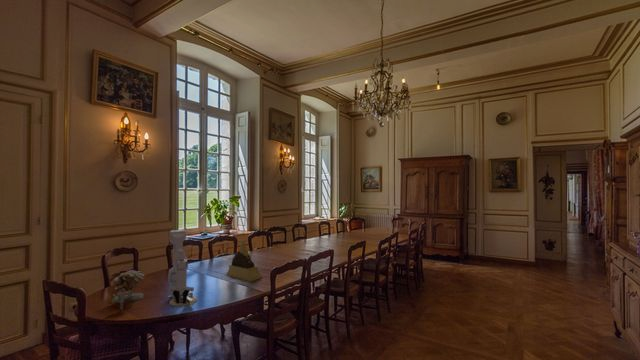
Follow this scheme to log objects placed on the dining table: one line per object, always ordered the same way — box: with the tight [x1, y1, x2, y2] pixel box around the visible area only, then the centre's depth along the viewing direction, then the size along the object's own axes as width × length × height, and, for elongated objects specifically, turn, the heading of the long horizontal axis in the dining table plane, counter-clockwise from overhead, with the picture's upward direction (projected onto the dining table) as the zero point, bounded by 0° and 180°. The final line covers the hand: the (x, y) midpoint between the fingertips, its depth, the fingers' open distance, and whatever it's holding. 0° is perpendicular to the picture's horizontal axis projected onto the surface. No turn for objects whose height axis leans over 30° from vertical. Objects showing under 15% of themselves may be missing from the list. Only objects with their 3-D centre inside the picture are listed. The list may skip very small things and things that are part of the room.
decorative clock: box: [226, 239, 263, 282], centre depth 262 cm, size 28×13×30 cm, turn 54°
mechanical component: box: [111, 290, 133, 311], centre depth 191 cm, size 3×10×10 cm, turn 134°
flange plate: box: [169, 295, 198, 307], centre depth 205 cm, size 16×16×1 cm
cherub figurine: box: [109, 270, 146, 304], centre depth 212 cm, size 18×18×18 cm
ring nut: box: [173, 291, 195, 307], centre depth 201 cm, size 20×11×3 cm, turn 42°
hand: (181, 302), depth 196 cm, fingers open, 3 cm apart
